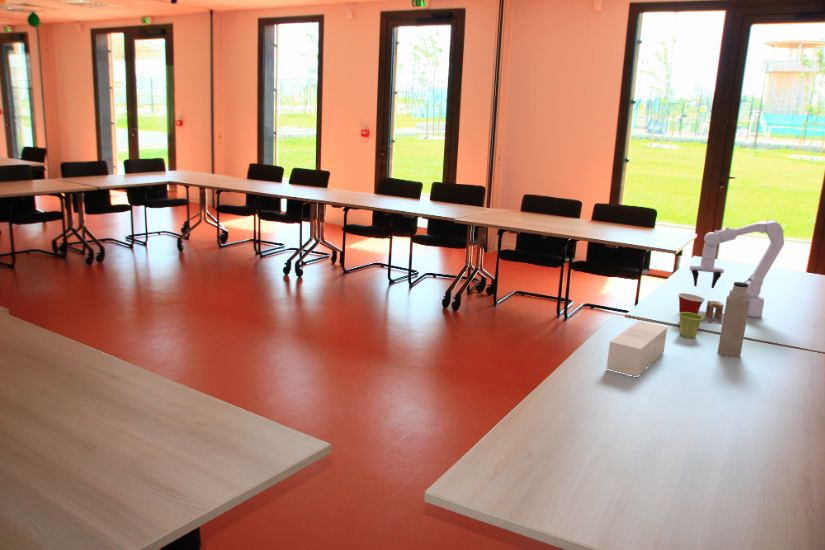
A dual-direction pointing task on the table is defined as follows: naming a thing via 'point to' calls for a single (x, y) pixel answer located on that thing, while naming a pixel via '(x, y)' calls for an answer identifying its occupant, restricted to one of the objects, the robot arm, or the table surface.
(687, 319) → the plant pot
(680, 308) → the plastic cup
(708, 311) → the stool
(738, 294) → the thermos bottle
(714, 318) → the mat
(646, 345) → the beige rectangular block
